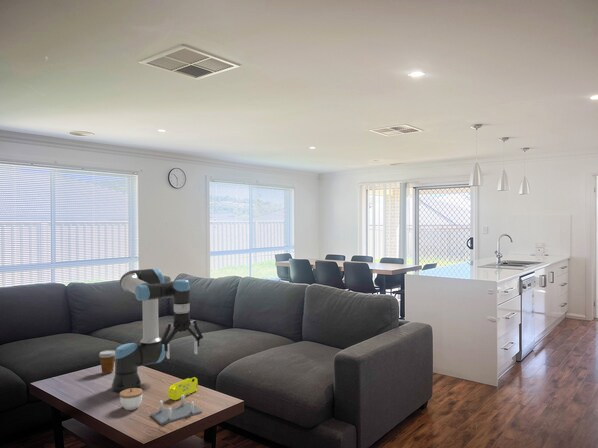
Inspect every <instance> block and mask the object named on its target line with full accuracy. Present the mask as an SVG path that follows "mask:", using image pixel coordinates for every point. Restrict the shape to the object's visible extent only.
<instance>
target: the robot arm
mask: <svg viewBox="0 0 598 448" xmlns="http://www.w3.org/2000/svg"><path fill="white" fill-rule="evenodd" d="M119 287H120V288H121V289H122V290H123V291H124V292H126V293H127V292H128V293H133V294H134V296H135V298H136V300H137V301H142V338H141V340H140V341H139V344H137V343H135V342H131V343H130V342H129V343H124V344H121V345H119V346H117V347H116V348H115V350H114V351H115V360H114V377H113V381H112V383H111V391H112V392H115V393H120V392H121V391H123V390H126V389H130V388H140V389H141V387H142V380H141V378H140V376H139V373H138V367H144V366H148V365H156V364H157V363H159V364H160V363H161V362H163V360H164V359H165V356H166V358H167V359H168V360H169V359H171V358H170V355H171V354H170V344H169V343H170V342H171V341H172V339H173V338H174V337H175V335H176V334H177V333H178V332H179V333H182V332H186V331H188V332H189V333H190V335H191V336H192V337H194V339H193V351H194V352H193V353H194V354H195V355H198V347H200V341H201V339H203V338H204V336H203V334H202V332H201V330H200V328H199V327H198V325H197V324H198V323H197V320H196V319H192V320H191V314H190V313H191V312H190V308H191V307H190V306H191V305H190V299H191V298H190V295H191V294H190V290H191V287H190V281H189V279H175V280H174V281H171V280H170V281H169V280H168V281H167V282H165V277H164V274H163V272H162V270H160V269H158V268H149V269H148V268H147V269H134V270H130V271H126V272H125V273H124V274H122V276H121V277H120V278H119ZM169 298H171V299H172V298H173V312H174V313H173V323H170V322H168V323H167V324H166V328H165V331H164V333H163V335H162V337H160V336H159V335H160V334H159V328H160V327H159V300H160V299H169ZM191 325H192V326H193V328H194V330H195V331H196V333H195V332H194V330H192V329H191V328H190V326H191ZM172 327H173V329H172ZM171 329H172V331H171ZM170 331H171V332H170ZM169 333H170V334H169Z"/></svg>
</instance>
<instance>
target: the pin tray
mask: <svg viewBox="0 0 598 448" xmlns="http://www.w3.org/2000/svg"><path fill="white" fill-rule="evenodd" d="M163 402H164V401H163V400H158V403H159V404H158V409H159V410H158V411H154V412H150V416H151V417H152V418H153V419H154V421H156V422H157V423H158V424H159V425H160V426H164V425H166V424H170V423H172V422H175V421H178V420H180V421H181V420H183V419H186V418H189V417H193V416H196V415H199V414H202V413H203V411H202V410H201V409H200V408H198V407H197V406H195V402H194V401H190V402H187V403H185V397H184V395H181V398H180V405H176V406H173V407H167V408H166V409H165V408H164V409H163V406H164V403H163Z"/></svg>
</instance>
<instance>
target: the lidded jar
mask: <svg viewBox="0 0 598 448" xmlns="http://www.w3.org/2000/svg"><path fill="white" fill-rule="evenodd" d="M143 391H144V390H143V389H142V388H141V387H140V388H130V389H126V390H123V391H121V392H119V401H120V405H121V407H122V408H124V410H125V411H132V410H136V409H138V408H139V406H140V405H141V403H142V401H143V393H144V392H143Z"/></svg>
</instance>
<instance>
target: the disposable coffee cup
mask: <svg viewBox="0 0 598 448" xmlns="http://www.w3.org/2000/svg"><path fill="white" fill-rule="evenodd" d="M98 356H99V360H100V361H99V362H100V367H101V373H102V374H110V373H113V372H114V369H115V350H114V349H108V350H107V349H105V350H103V351H100V352H99V354H98Z"/></svg>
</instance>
